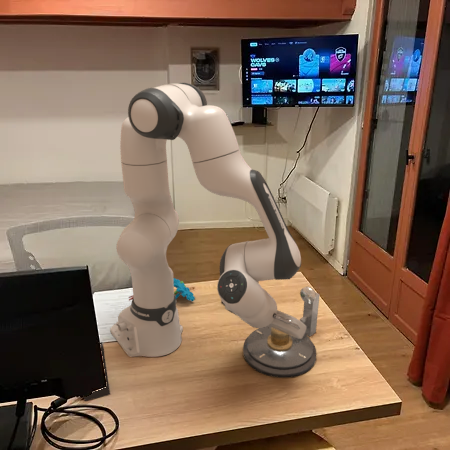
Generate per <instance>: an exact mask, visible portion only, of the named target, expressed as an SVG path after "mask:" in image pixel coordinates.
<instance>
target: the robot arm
mask: <svg viewBox="0 0 450 450" xmlns="http://www.w3.org/2000/svg"><path fill="white" fill-rule="evenodd" d="M127 115H128V116H127V117H126V118H125V119H124V120H123V121H122V124H121V129H120V140H119V141H120V147H119V149H120V162H121V163H120V164H121V174H122V183H123V192H124V194H125V195H126V197H128V198H129V199H130V201H131V204H132V207H133V210H134V217H133V220H131V222H130V223H128V224H127V225H126V226H125V227H124V228H123V230H122V231H121V233H120V235H119V238H118V240H117V242H116V253H117V256H118V258H119V259H120V261H122V262H123V264H125V265H127V267H128V269H129V272H130V276H131V284H132V285H131V286H132V295H130V296H128V298H129V299H128V301H129V302H130V301H131V304H130V305H129V306H127V307H126V308H124V309H122V310H121V311H120V313H119V314H118V316H117V321H116V322H115V323H114V324H113V325H112V326H111V327H110V333H111V334H112V336H113V338H114V339H115V340H116V342H117V343H118V344H119V346H120V347H121V348H122V350H123V351H124V352H125V353H126V354H127V355H126V356H128V357H130V358H133V357H142V356H143V357H149V358H151V357H152V358H154V357H156V358H157V357H162V356H166V355H169V354H171V353H173V352H175V351H176V350H177V349H178V348H179V347H180V345H181V344H182V333H183V331H184V328H183V325H181V323H180V316H179V315H180V314H179V310H178V307H177V299H176V297H175V296H176V294H174V292H175V287H174V282H173V279H174V272H173V270H172V268H171V267H170V266H169V263H168V259H167V250H168V247H169V244H170V243H171V242H172V241H173V239H174V238H175V237H176V235H177V232H178V230H179V225H180V217H179V213H178V212H177V210H176V209H175V207H174V203H173V200H172V196H171V191H170V185H169V172H168V171H169V170H168V169H169V168H168V157H167V156H168V155H167V141H174V140H176V138H180V139H181V140H182V141H184V143H185V145H186V147H187V149H188V152H189V155H190V159H191V162H192V166H193V170H194V172H195V175H196V178H197V180H198V182H199V184H200V185H201V186H202V187H203V188H204V189H205V190H207V191H208V192H210V193H212V194H215V195H217V196H222V197H226V198H233V199H238V200H241V201H245V202H247V203H248V204H250V205H251V206H253V208H254V209H255V211H256V212H257V213H256V214H257V215H258V216H259V219H260V222H261V223H262V226H263V228H264V229H265V232H266V234H267V236H268V237H267V238H262V239H256V240H247V241H242V242H236V243H231V244H229V245H228V246H227V247H226V249H225V250H224V251H223V253H222V255H221V257H220V261H219V278H218V281H217V285H216V286H217V288H216V289H217V293H218V296H219V298H220V300H222V302H223V303H224V304H225V305H224V309H225V310H226V311H228V312H229V313H231V314H234V315H235V316H237V317H238V318H239V319H240V320H242V321H243V322H244V323H246V324H247V325H249V326H250V327H252V328H254V329H255V328H256V329H258V328H263V327H266V326H270V327H272V328H274V329H277V330H279V331H281V332H284V333H286V334H288V335H291V336H293V337H295V338H298V339H302V338H303V336H304V334H305V331H306V325H305V324H303V323H302V322H301V321H300V319H298V318H296V317H294V316H292V315H290V314H288V313H285V312H283V311H281V310H278V304H277V301H276V300H275V299H274V297H273V296H272V295H271V294H270V293H269V292H268V291H267V290H265V289H264V288H263V287H262V285H261V284H260V283H259V282H264V281H271V280H275V281H276V280H277V281H279V280H280V281H281V280H291V279H292V278H293V277H294V276H295V275H296V274H297V273H298V272H299V270H300V268H301V266H302V257H301V252H300V249H299V247H298V245H297V243H296V240H295V239H294V237H293V236H292V233H291V232H290V230H289V229H288V226H287V224H286V222H285V219H284V217H283V215H282V213H281V211H280V208H279V206H278V204H277V202H276V200H275V197H274V195H273V193H272V191H271V189H270V187H269V186H268V184H267V183H268V182H267V181H266V179H265V178H264V176H263V175H262V173H261V172H260V171H259V170H255V169H252V167H251V166H249V164H248V163H247V162H246V160H245V159H244V157H243V155H242V151H241V149H240V146H239V143H238V140H237V139H238V138H237V136H236V134H235V130H234V128H233V126H232V123H231V121H230V119H229V117H228V115H227V113H226V112H225V110H224V109H222V108H221V107H220V106H216V105H209V104H208V101H207V98H206V96H205V94H204V92H203V91H202V90H201V89H200V88H199V87H197V86H196V85H194V84H192V83H187V82H179V83H164V84H160V85H159V86H154V87H148V88H145V89H142V90H141V91H139V92H138V93H136V94H135V95H134V96H133V97H132V98H131V100H130V101H129V104H128V108H127Z"/></svg>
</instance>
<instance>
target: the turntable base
mask: <svg viewBox="0 0 450 450" xmlns="http://www.w3.org/2000/svg"><path fill="white" fill-rule="evenodd" d="M248 337H249V335H248V336H247V337H246V338H245V340H244V342H243V345H242V351H243V352H242V354H243V358H244V360H245V362H246V363H247V364H248V366H250V367H251V368H252V369H253V370H255V371H256V372H258V373H260V374H263V375H264V376H268V377H273V378H279V379H280V378H282V379H286V378H287V379H289V378H295V377H298V376H302V375H304V374H307V373H308V372H309V371H310V370H311V369H312V368H314V366H315V364H316V361H317V348H316V346H315V343H314V342H313V341H312V344H313V354H312V357H311V359H310V360H309V362H307V363H306V364H305V365H303V366H301V367H298V368H295V369H289V370H278V369H272V368H268V367H265V366H263V365H261V364H259V363H257V362H256V361H255V360H253V359H252V358H251V356H250V355H249V353H248V351H247V340H248Z"/></svg>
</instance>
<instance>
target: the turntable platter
mask: <svg viewBox="0 0 450 450" xmlns="http://www.w3.org/2000/svg"><path fill="white" fill-rule="evenodd" d="M270 335H271V327H270V326H266V327H263V328H256V329H254V330H253V331H252V332H251V333H250V334H249V335H248V336H249V337H248V336H247V337H248V340H247V351H248V353H249V355H250V356H251V358H252V359H253V360H255V361H256V362H257V363H259V364H261V365H263V366H265V367H268V368H272V369H278V370H289V369H295V368H298V367H301V366H303V365H305V364H306V363H307V362H309V360H310V359H311V357H312V354H313V344H314V343H313V344H312V342H313V341H312V340H311V338H310V336H308V335H306V334H304V336H303V338H302V339H298V338H295V337H293V336H291V335H289V336H290V337H291V339H292V347H291V349H289V350H287V351H283V352H279V351H274V350H272V349H271V348H269V347H268V345H267V338H268V337H269V336H270Z"/></svg>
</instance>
